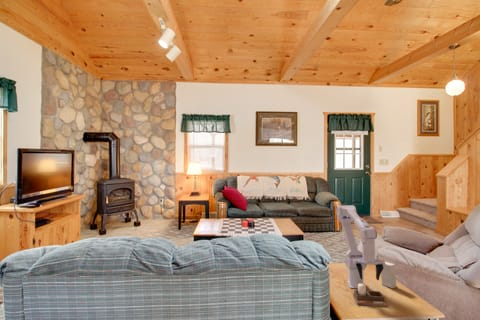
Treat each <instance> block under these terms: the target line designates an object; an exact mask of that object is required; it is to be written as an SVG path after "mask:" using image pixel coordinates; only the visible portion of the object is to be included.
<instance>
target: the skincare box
mask: <svg viewBox="0 0 480 320" xmlns="http://www.w3.org/2000/svg"><path fill="white" fill-rule="evenodd" d="M384 261H385V260H384ZM396 272H397V271H396V264H395V263H391V262H388V261H385V266H383V270H382V272H381V274H380V277H381V278H380V279H381V285H382V286H385V287H386V288H387V287H388V288H391V289H393V288H396V287H397V277H396V276H397V273H396Z"/></svg>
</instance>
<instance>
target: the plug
mask: <svg viewBox="0 0 480 320" xmlns="http://www.w3.org/2000/svg"><path fill="white" fill-rule="evenodd" d="M357 290H358V295H359V296H366V291H367V285H366V284H365V283H364V284H358V288H357Z"/></svg>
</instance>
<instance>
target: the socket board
mask: <svg viewBox="0 0 480 320" xmlns="http://www.w3.org/2000/svg"><path fill="white" fill-rule="evenodd" d="M352 297H353V299H354V301H355V303H356V305H357V306H371V307H388V304H387V302H386V301H385V297H384V295H383V294H382V292H381V291H377V290H376V291H375V290H366V296H359V295H358V289H354V290H353V293H352Z"/></svg>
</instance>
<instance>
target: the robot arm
mask: <svg viewBox="0 0 480 320" xmlns="http://www.w3.org/2000/svg"><path fill="white" fill-rule="evenodd" d="M335 214H336V217H337V220H338V221H339V222H340V224H341V228H342V232H343V235H344V239H345V242H346V246H347V250H348V251H347V252H346V253H345V255H344V259H345V260H344V261H345V266H346V268H347V269H348V279H347V280H346V282H347V284H348V286H349V288H350V289H358V284H365V283H364V280H365V279H364V277H365V276H364V271H365V270H366V269H367V267H368V265H369V266H371V265H372V266H373V265H374V266H375V279H376V280H377V281H379V280H380V277H381V272H382V270H383V266H385V260H382V259H376V243H375V242H376V240H377V238H378V231H377V229H376V228H375V227H374V226H371V225H370V224H369V223H368V222H367V221H366V220H365V219H364V218H363V217H362V218H361V217H360V216H359V214H358V212H357V208H356V206H355V205H354V204H352V205H351V204H349V205H348V204H347V205H337V207H336V208H335ZM351 222H354V223H353V224H354V227H355V228H356V229H357V230H358V232H359V236H360V241H361V242H362V243H361V245H362V248H361V249H362V250H361V251H360V250H359V249H358V246H357V241H356V238H355V235H354V232H353V227H352V224H351Z"/></svg>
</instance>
